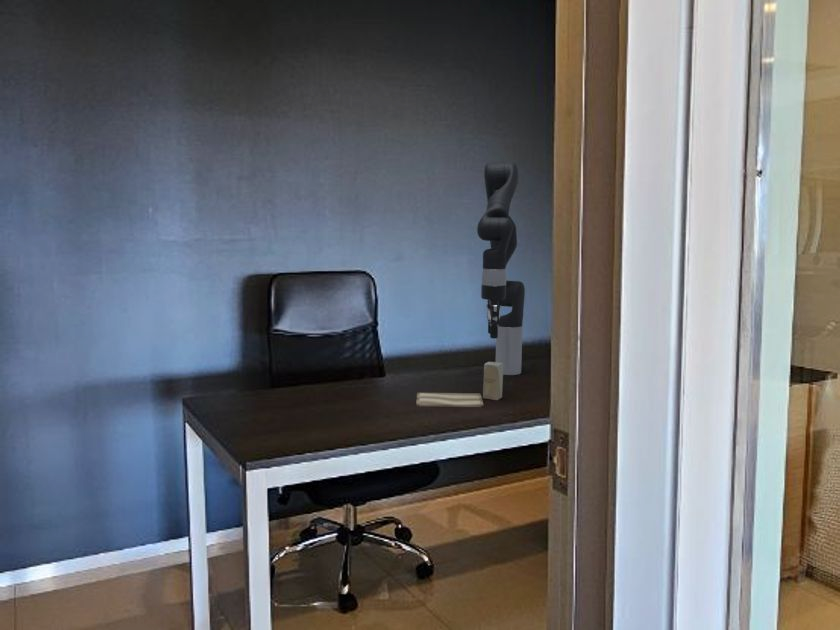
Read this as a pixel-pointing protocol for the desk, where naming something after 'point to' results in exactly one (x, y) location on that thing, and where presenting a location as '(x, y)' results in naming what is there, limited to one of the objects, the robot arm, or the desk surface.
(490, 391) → the box
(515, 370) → the robot arm
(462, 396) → the mat
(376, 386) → the desk surface
